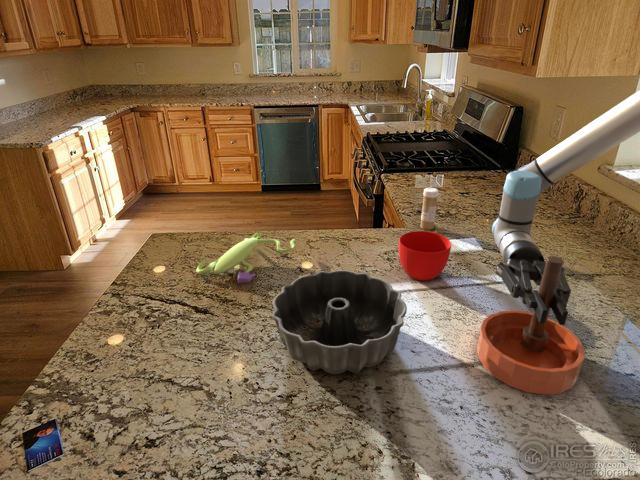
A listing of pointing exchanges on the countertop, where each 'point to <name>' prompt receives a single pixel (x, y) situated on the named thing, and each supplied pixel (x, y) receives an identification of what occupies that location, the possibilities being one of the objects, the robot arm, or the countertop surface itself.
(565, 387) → the bowl
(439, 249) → the ceramic cup
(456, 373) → the countertop surface
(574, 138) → the robot arm
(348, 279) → the bundt pan
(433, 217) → the sprinkles bottle
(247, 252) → the figurine
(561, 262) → the wooden pestle
